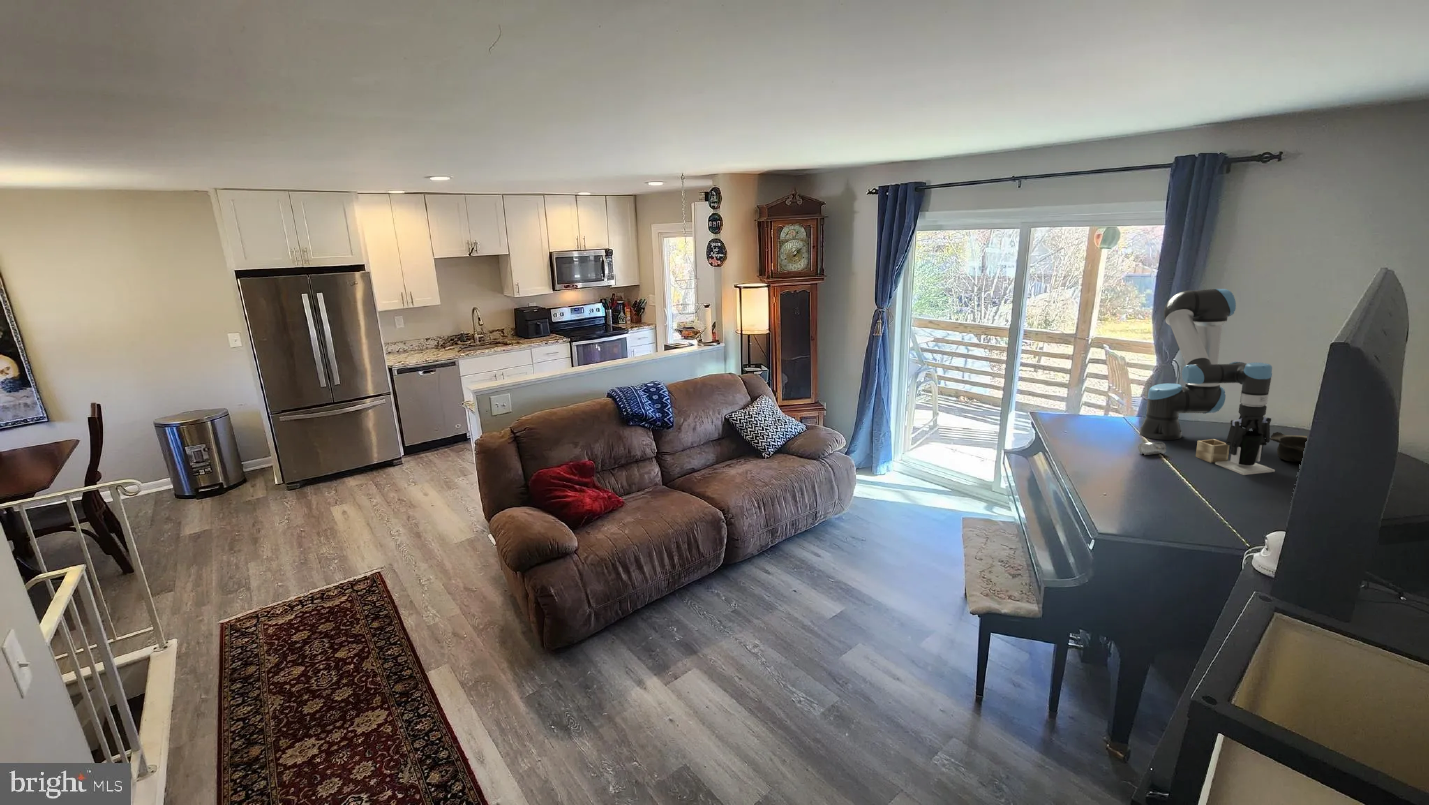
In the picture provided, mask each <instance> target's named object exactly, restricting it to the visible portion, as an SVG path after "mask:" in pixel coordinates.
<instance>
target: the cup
mask: <svg viewBox="0 0 1429 805" xmlns="http://www.w3.org/2000/svg"><path fill="white" fill-rule="evenodd" d="M1262 436H1263V434H1262V433H1260V436H1256V435H1254V434H1253V430H1249V431H1247V432H1246V434H1245V435H1243V437H1242V442H1241V443H1240V445H1239V447H1241V451H1240V458H1239V464H1241V465H1254V464H1255V463H1256V462H1257V461H1256V457H1257V454H1258V450H1259V447H1260V443H1261V440H1262ZM1235 444H1236V443H1235Z"/></svg>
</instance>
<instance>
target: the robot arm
mask: <svg viewBox="0 0 1429 805" xmlns="http://www.w3.org/2000/svg"><path fill="white" fill-rule="evenodd" d="M1236 307H1237V303H1236V298H1235V295H1234V294H1233V293H1232V291H1231V290H1229V289H1227V288H1210V289H1199V290H1197V289H1196V290H1182V291H1181V292H1178V293H1176V294H1174V295H1173V296H1172V297H1171V298H1169V299H1168V301H1167V302H1166V303H1165V305H1164V309H1163V318H1164V321H1165V323H1166V324H1167V325H1168V326H1169V327H1170V328H1171V330H1172V333H1173V336H1174V338H1175V341H1176V343H1177V345H1178V348H1179V351H1180V353H1181V356H1182V357H1183V358H1182V359H1183V361H1184V363H1185V366H1183V367H1182V370H1181V378H1182V381H1184V383H1185V386H1184V387H1183V386H1182V385H1181V384H1179V383H1170V382H1168V383H1158V384H1155V385H1152V386H1151V387H1150V388H1149V390H1148V392H1147V393H1148V395H1147V402H1146V403H1147V404H1146V411H1145V412H1146V414H1145V419H1144V421H1143V423H1142V425H1141V427H1140V428H1139V434H1140V436H1142V437H1145V438H1149V439H1152V440H1161V441H1162V440H1164V441H1174V440H1175V441H1176V440H1178V439H1179V440H1180V439H1181V438H1182V436H1183V434H1182V433H1183V432H1182V428H1181V425H1180V422H1179V418H1180V417H1179V415H1180V414H1214V413H1218V412H1219V411H1221V409H1223V406H1224V404H1225V402H1226V390H1225V389H1224V387H1223V386H1221V384H1239V385H1241V390H1240V391H1241V392H1240V400H1239V403H1240V404H1239V406H1238V414H1239V417H1238V419H1235V420H1234V419H1231V420H1230V427H1229V431H1228V434H1227V438H1226V442H1225V443H1226V444H1227V445H1230V450H1229V453H1230V454H1229V455H1230V460H1229V461H1231V462H1233V463H1236V464H1239V458H1240V451H1241V447H1239V445H1240V443H1241V442H1242V437H1243V435H1245V434H1246V432H1247V431H1250V429H1251V431H1253V434H1254V435H1256V436H1260V433H1262V434H1263V436H1262V440H1261V443H1260V447H1259V450H1258V454H1257V457H1256V461H1255V462H1260V461H1261V456H1262V455H1261V454H1262V453H1263V450H1264V448H1263V447H1264V446H1267V444H1268V443H1270V441H1271V440H1270V438H1271V435H1270V434H1271V433H1270V432H1271V429H1270V428H1271V426H1270V424H1271V421H1272V418H1270V417H1267V416H1265V415H1266V413H1267V408H1268V407H1267V404H1268V401H1269V400H1268V399H1269V393H1270V388H1271V382H1272V378H1273V366H1272V365H1271V364H1270V363H1266V362H1265V363H1264V362H1248V363H1246V362H1242V361H1231V362H1230V363H1223V364H1222V363H1219V354H1220V348H1221V347H1220V345H1221V336H1222V327H1223V325H1224V324H1225V323H1227V322H1228V317H1231V316H1233V315H1234V314H1235V311H1236V309H1237V308H1236ZM1235 443H1236V444H1235Z"/></svg>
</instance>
